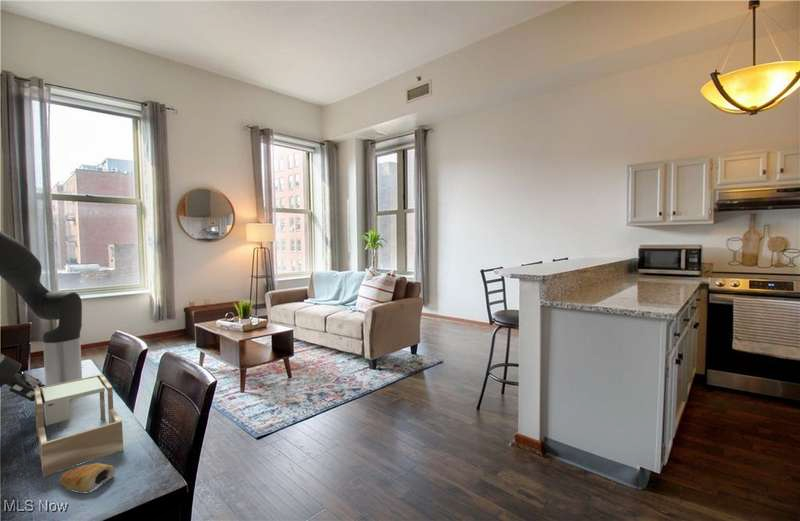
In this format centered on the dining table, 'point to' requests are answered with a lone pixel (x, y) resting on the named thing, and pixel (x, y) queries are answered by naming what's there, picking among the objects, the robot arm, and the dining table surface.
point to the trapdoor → (72, 390)
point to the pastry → (87, 477)
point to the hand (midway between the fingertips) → (53, 398)
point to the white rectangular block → (57, 412)
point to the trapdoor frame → (79, 436)
